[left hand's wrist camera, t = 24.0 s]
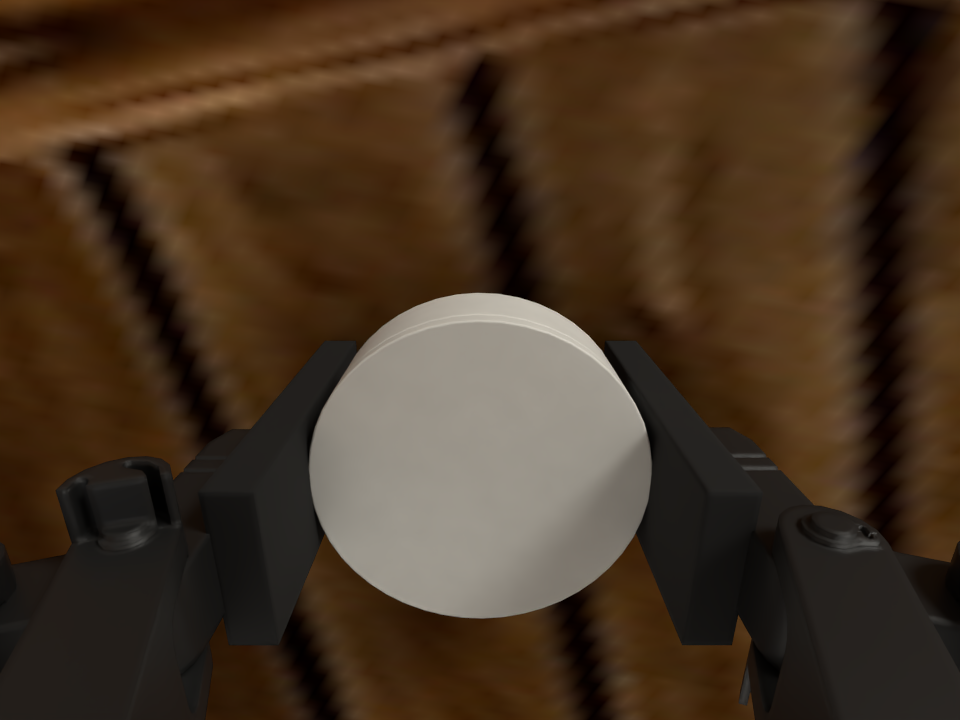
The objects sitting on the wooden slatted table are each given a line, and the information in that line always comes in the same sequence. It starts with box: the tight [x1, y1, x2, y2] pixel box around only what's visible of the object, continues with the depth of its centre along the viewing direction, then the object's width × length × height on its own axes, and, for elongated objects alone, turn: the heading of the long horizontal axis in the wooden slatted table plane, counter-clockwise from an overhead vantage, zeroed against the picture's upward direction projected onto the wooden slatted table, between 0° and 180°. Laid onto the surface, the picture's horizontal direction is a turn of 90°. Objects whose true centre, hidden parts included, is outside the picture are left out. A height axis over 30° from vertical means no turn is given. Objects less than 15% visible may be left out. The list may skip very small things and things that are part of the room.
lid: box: [308, 293, 652, 618], centre depth 11 cm, size 6×6×2 cm
